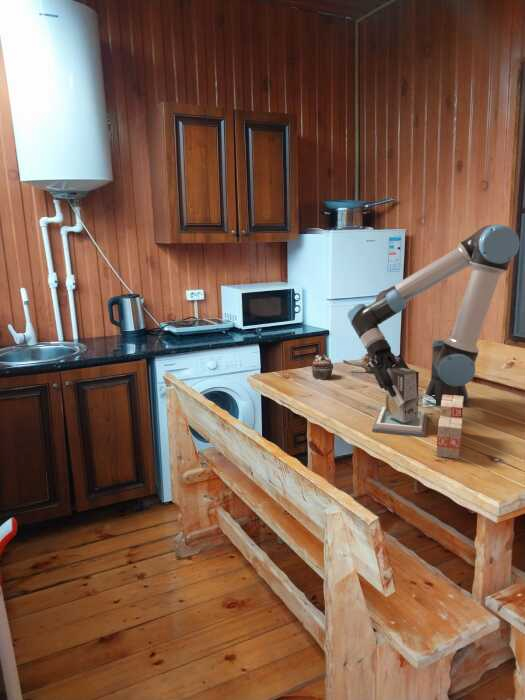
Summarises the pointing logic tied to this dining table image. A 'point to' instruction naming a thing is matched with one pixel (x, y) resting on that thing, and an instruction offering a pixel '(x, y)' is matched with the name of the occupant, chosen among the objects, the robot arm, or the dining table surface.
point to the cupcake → (322, 367)
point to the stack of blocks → (450, 426)
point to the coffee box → (403, 394)
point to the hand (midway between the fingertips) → (409, 402)
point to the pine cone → (364, 364)
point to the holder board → (400, 424)
